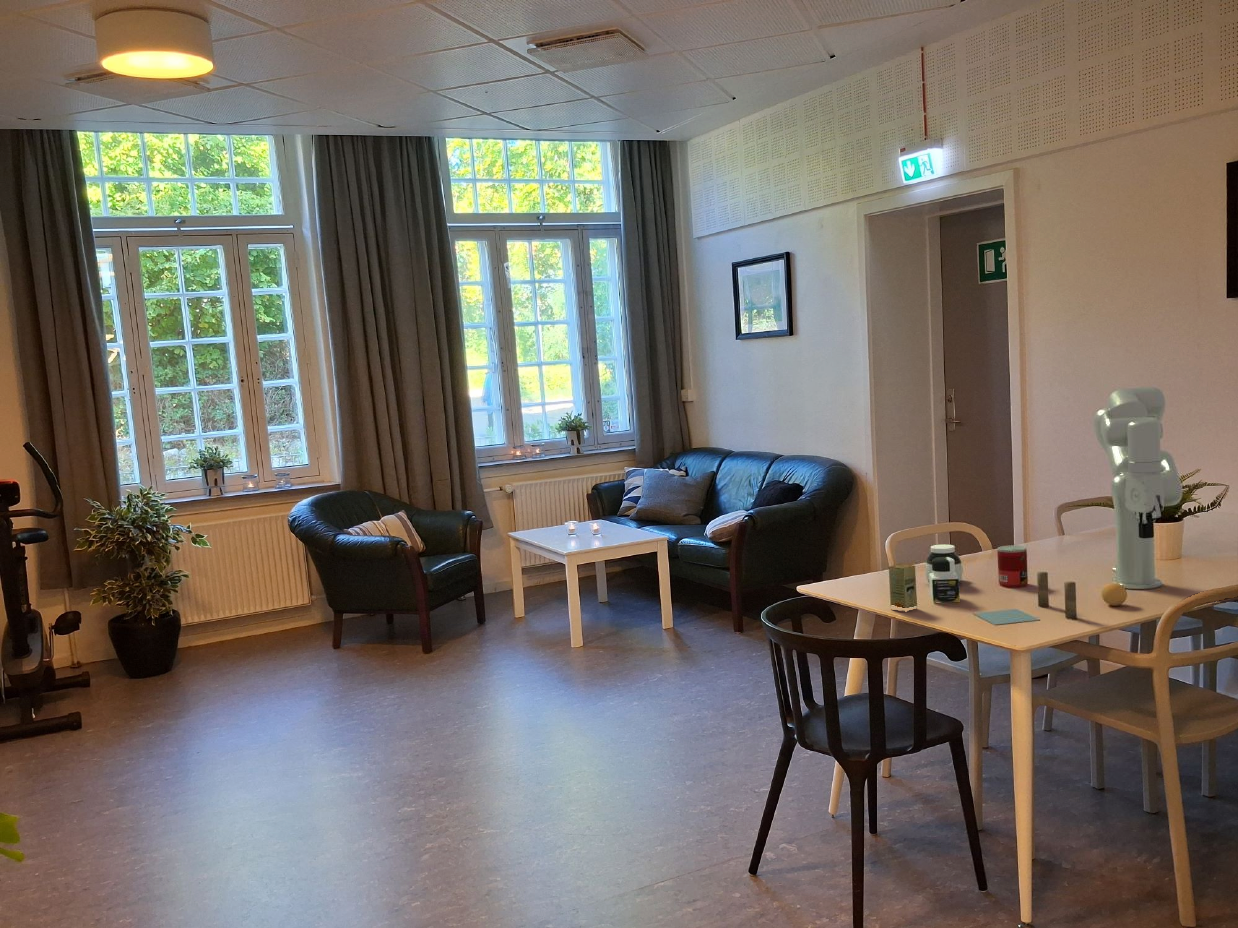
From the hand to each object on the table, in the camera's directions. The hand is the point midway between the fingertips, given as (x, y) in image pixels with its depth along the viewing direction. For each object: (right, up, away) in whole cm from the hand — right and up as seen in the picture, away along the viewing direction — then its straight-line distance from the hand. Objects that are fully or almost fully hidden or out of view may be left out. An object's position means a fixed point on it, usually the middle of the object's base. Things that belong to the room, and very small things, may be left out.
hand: (1146, 537), depth 265 cm
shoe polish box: (-60, -21, +13) cm, 64 cm away
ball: (-8, -15, 0) cm, 17 cm away
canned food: (-23, -16, +31) cm, 42 cm away
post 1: (-25, -19, +5) cm, 31 cm away
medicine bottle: (-46, -19, +19) cm, 54 cm away
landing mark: (-38, -20, -3) cm, 43 cm away
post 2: (-23, -20, -8) cm, 31 cm away
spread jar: (-40, -17, +39) cm, 58 cm away
